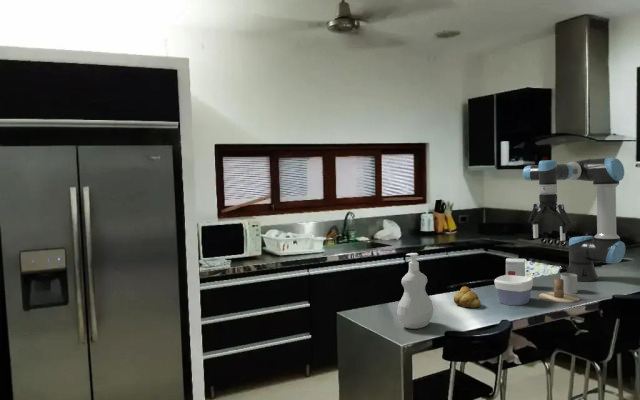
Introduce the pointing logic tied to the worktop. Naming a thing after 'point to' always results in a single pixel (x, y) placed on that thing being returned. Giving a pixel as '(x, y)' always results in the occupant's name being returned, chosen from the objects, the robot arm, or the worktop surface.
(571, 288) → the cup
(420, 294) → the soap bottle
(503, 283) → the bowl
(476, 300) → the bread roll
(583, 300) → the mat
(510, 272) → the supplement box
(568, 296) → the lid
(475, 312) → the worktop surface
